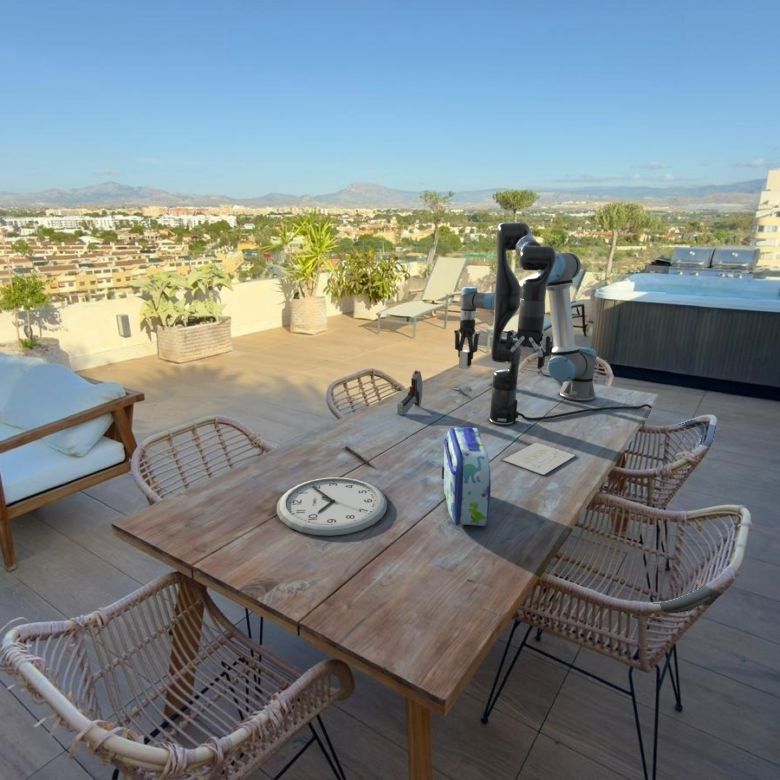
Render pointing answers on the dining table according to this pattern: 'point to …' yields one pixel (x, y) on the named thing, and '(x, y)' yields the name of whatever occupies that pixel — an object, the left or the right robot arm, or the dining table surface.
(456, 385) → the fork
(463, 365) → the brick
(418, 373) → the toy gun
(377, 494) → the wall clock
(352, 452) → the brown stick
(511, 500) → the dining table surface
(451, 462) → the lunch box
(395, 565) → the dining table surface
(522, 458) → the invitation card
